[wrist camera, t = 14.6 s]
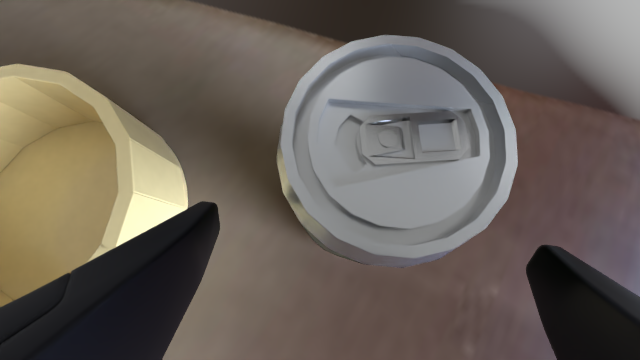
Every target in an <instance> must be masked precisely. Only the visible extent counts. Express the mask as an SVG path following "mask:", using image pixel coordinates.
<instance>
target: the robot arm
mask: <svg viewBox="0 0 640 360" xmlns="http://www.w3.org/2000/svg"><path fill="white" fill-rule="evenodd" d="M219 230H220V222H219V214H218V207H217V204H215V203H212V202H204V201H202V202H199V203H197V204H196V205H194V206H192V207H190V208H188V209H186V210H184V211H182V212H181V213H179V214H177V215H175V216H173V217H171V218H169V219H167V220H166V221H164V222H162V223H160V224H158V225H156V226H154V227H152V228H151V229H149V230H147V231H145V232H143V233H141V234H139V235H138V236H136V237H134V238H132V239H130V240H128V241H126V242H124V243H123V244H121V245H119V246H117V247H115V248H113V249H111V250H109V251H108V252H106V253H104V254H102V255H100V256H98V257H96V258H94V259H93V260H91V261H89V262H87V263H85V264H83V265H81V266H79V267H78V268H76V269H74V270H72V271H71V273H66V274H64V275H62V276H61V277H59V278H57V279H55V280H53V281H51V282H49V283H47V284H45V285H44V286H42V287H40V288H38V289H36V290H34V291H32V292H30V293H28V294H26V295H24V296H22V297H20V298H18V299H16V300H14V301H12V302H10V303H8V304H6V305H4V306H2V307H0V360H162V358H163V356H164V354H165V352H166V350H167V348H168V346H169V344H170V342H171V340H172V338H173V336H174V334H175V332H176V330H177V328H178V326H179V324H180V322H181V320H182V318H183V316H184V314H185V312H186V310H187V308H188V306H189V304H190V302H191V300H192V298H193V296H194V294H195V292H196V290H197V288H198V286H199V284H200V282H201V280H202V277H203V275H204V272H205V269H206V267H207V264H208V261H209V259H210V256H211V253H212V250H213V248H214V245H215V242H216V239H217V237H218V234H219ZM526 274H527V277H528V280H529V284H530V287H531V290H532V293H533V296H534V299H535V303H536V306H537V309H538V312H539V315H540V318H541V321H542V324H543V327H544V330H545V332H546V335H547V337H548V339H549V342H550V344H551V346H552V349H553V351H554V353H555V356H556V358H557V360H640V297H639V296H637V295H636V294H634V293H632V292H631V291H629V290H628V289H626V288H625V287H623V286H621V285H620V284H618V283H617V282H615V281H613V280H612V279H610V278H609V277H607V276H605V275H604V274H602V273H601V272H599V271H597V270H596V269H594V268H593V267H591V266H589V265H588V264H586V263H585V262H583V261H581V260H580V259H578V258H577V257H575V256H574V255H572V254H570V253H569V252H567V251H566V250H564V249H562V248H561V247H558V246H551V245H541V246H540V247H538V249H537V250H536V252H535V253H534V255H533V256H532V258H531V260H530V261H529V263H528V264H527V267H526Z"/></svg>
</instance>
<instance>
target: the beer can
mask: <svg viewBox="0 0 640 360" xmlns="http://www.w3.org/2000/svg"><path fill="white" fill-rule="evenodd" d="M277 164H278V169H279V174H280V179H281V184H282V189H283V193H284V195H285V197H286V198H287V200H288V202H289V204H290V205H291V207H292V209H293V211H294V212H295V214H296V216H297V218H298V219H299V221H300V223H301V224H302V226H303V227H304V228H305V230H306V231H307V232H308V234H309V235H310V236H311V238H312V239H313V240H314V241H315V242H316V243H317V244H318V245H319V246H320V247H322V248H323V249H324V250H326V251H328V252H330V253H332V254H335V255H337V256H339V257H343V258H346V259H349V260H352V261H355V262H358V263H362V264H366V265H376V266H387V267H397V268H404V267H409V266H413V265H417V264H421V263H425V262H430V261H434V260H438V259H440V258H442V257H443V256H445V255H446V254H448V253H449V252H451V251H452V250H454V249H455V248H457V247H459V246H460V245H462V244H463V243H465V242H466V241H468V240H469V239H470V238H472V237H473V236H475V235H476V234H478V233H479V232H481V231H482V230H484V229H485V228H486V227H487V226H488V225H489V223H490V222H491V221H492V219H493V218H494V217H495V215H496V214H497V213H498V211H499V210H500V208H501V207H502V206H503V204H504V203H505V202H506V200H507V199H508V196H509V193H510V189H511V186H512V182H513V179H514V176H515V172H516V169H517V165H518V160H517V144H516V129H515V126H514V124H513V122H512V119H511V117H510V114H509V112H508V109H507V107H506V104H505V102H504V99H503V97H502V95H501V94H500V93H499V92H498V90H497V89H496V88H495V87H494V86H493V84H492V83H491V82H490V81H489V79H488V78H487V77H486V76H485V74H484V73H483V72H482V71H481V70H480V69H479V68H478V67H476V66H475V65H474V64H472V63H471V62H469V61H468V60H466V59H465V58H463V57H462V56H461V55H459V54H458V53H456V52H455V51H454V50H452V49H450V48H447V47H444V46H441V45H439V44H436V43H433V42H430V41H427V40H425V39H422V38H419V37H406V36H393V35H382V36H377V37H372V38H367V39H362V40H357V41H352V42H350V43H348V44H346V45H344V46H343V47H341V48H339V49H337V50H335V51H333V52H331V53H329V54H327V55H325V56H323V57H322V58H321V59H320V60H319V61H318V62H317V63H316V64H315V65H314V66H313V67H312V68H311V69H310V70H309V71H308V72H307V73H306V74H305V75H304V76H303V77H302V78H301V79H300V80H299V83H298V85H297V87H296V89H295V91H294V93H293V95H292V97H291V99H290V101H289V103H288V105H287V107H286V109H285V113H284V121H283V123H282V125H281V128H280V136H279V143H278V151H277Z"/></svg>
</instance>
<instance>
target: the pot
mask: <svg viewBox="0 0 640 360" xmlns="http://www.w3.org/2000/svg"><path fill="white" fill-rule="evenodd" d="M187 207H188V196H187V186H186V181H185V176H184V173H183V171H182V168H181V165H180V163H179V161H178V159H177V157H176V155H175V154H174V152H173V151H172V150H171V148H170V147H169V146H168V145H167V143H166V142H165V141H164V139H163V138H162V137H161V136H160V135H158V134H157V133H156V132H154V131H153V130H152V129H150V128H149V127H147V126H146V125H145V124H143V123H142V122H140V121H139V120H138V119H136V118H135V117H133V116H132V115H131V114H129V113H128V112H126V111H125V110H124V109H122V108H121V107H119V106H118V105H117V104H115V103H114V102H112V101H111V100H110V99H108V98H107V97H105V96H104V95H102V94H101V93H99V92H98V91H96V90H95V89H93V88H92V87H90V86H89V85H87V84H86V83H84V82H82V81H81V80H79V79H78V78H76V77H75V76H73V75H72V74H70V73H68V72H66V71H60V70H54V69H48V68H42V67H36V66H30V65H24V64H12V65H6V66H1V67H0V307H2V306H4V305H6V304H8V303H10V302H12V301H14V300H16V299H18V298H20V297H22V296H24V295H26V294H28V293H30V292H32V291H34V290H36V289H38V288H40V287H42V286H44V285H45V284H47V283H49V282H51V281H53V280H55V279H57V278H59V277H61V276H62V275H64V274H66V273H71V271H72V270H74V269H76V268H78V267H79V266H81V265H83V264H85V263H87V262H89V261H91V260H93V259H94V258H96V257H98V256H100V255H102V254H104V253H106V252H108V251H109V250H111V249H113V248H115V247H117V246H119V245H121V244H123V243H124V242H126V241H128V240H130V239H132V238H134V237H136V236H138V235H139V234H141V233H143V232H145V231H147V230H149V229H151V228H152V227H154V226H156V225H158V224H160V223H162V222H164V221H166V220H167V219H169V218H171V217H173V216H175V215H177V214H179V213H181V212H182V211H184V210H186V209H187Z"/></svg>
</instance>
